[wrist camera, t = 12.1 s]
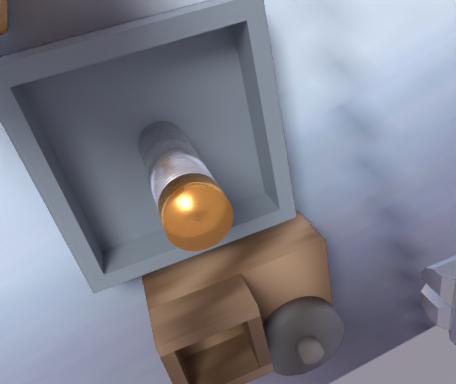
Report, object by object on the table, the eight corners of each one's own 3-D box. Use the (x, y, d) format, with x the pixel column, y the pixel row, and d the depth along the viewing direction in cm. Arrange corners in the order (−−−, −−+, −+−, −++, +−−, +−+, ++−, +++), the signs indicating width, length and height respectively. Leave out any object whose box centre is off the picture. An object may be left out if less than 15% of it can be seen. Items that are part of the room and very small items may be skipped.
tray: (240, -9, 21) (262, -8, 19) (276, 195, 28) (296, 217, 26) (-12, 59, 19) (-27, 71, 17) (92, 262, 26) (93, 293, 23)
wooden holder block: (297, 210, 29) (351, 267, 23) (311, 304, 34) (358, 370, 28) (140, 269, 27) (155, 347, 21) (179, 359, 32) (201, 443, 27)
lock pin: (178, 114, 23) (225, 178, 15) (191, 157, 24) (239, 236, 17) (130, 129, 22) (154, 203, 15) (146, 172, 24) (175, 260, 16)
